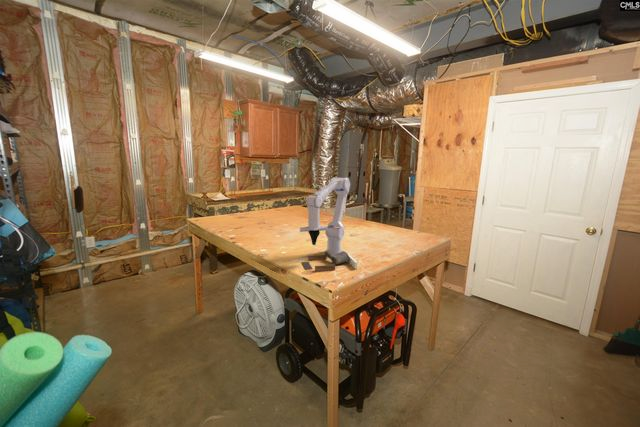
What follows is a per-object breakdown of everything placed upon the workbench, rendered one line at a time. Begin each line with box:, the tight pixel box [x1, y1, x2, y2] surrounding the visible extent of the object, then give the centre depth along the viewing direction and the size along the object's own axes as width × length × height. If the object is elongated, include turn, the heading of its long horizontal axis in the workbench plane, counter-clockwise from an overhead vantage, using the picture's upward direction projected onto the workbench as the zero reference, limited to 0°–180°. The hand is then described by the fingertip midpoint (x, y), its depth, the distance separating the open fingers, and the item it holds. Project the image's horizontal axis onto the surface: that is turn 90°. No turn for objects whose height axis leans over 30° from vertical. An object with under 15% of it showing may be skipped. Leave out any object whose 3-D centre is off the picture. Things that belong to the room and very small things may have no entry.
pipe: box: [324, 249, 350, 265], centre depth 149 cm, size 6×13×8 cm
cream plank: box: [342, 249, 358, 270], centre depth 149 cm, size 20×1×4 cm, turn 14°
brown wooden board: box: [308, 253, 336, 272], centre depth 146 cm, size 17×10×2 cm, turn 14°
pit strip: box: [301, 261, 313, 271], centre depth 144 cm, size 10×4×1 cm, turn 14°
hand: (313, 244), depth 147 cm, fingers closed
